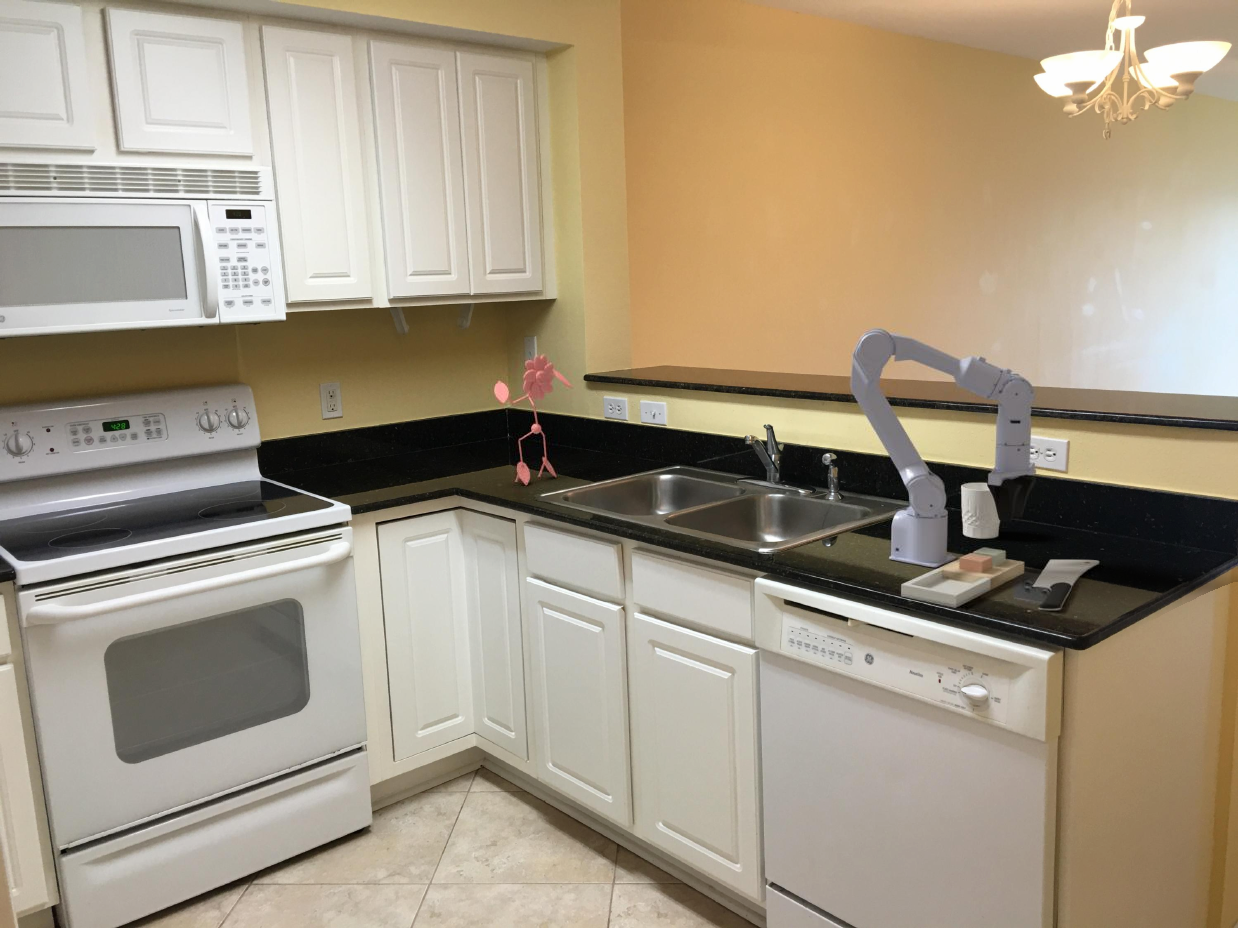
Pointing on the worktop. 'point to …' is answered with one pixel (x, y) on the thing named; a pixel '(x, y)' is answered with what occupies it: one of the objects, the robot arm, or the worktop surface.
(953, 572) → the wooden board
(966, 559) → the terracotta tile
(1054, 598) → the kitchen cleaver
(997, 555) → the sage tile
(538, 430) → the figurine
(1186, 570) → the worktop surface
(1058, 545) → the worktop surface
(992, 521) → the white cup
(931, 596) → the grey tray
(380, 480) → the worktop surface
